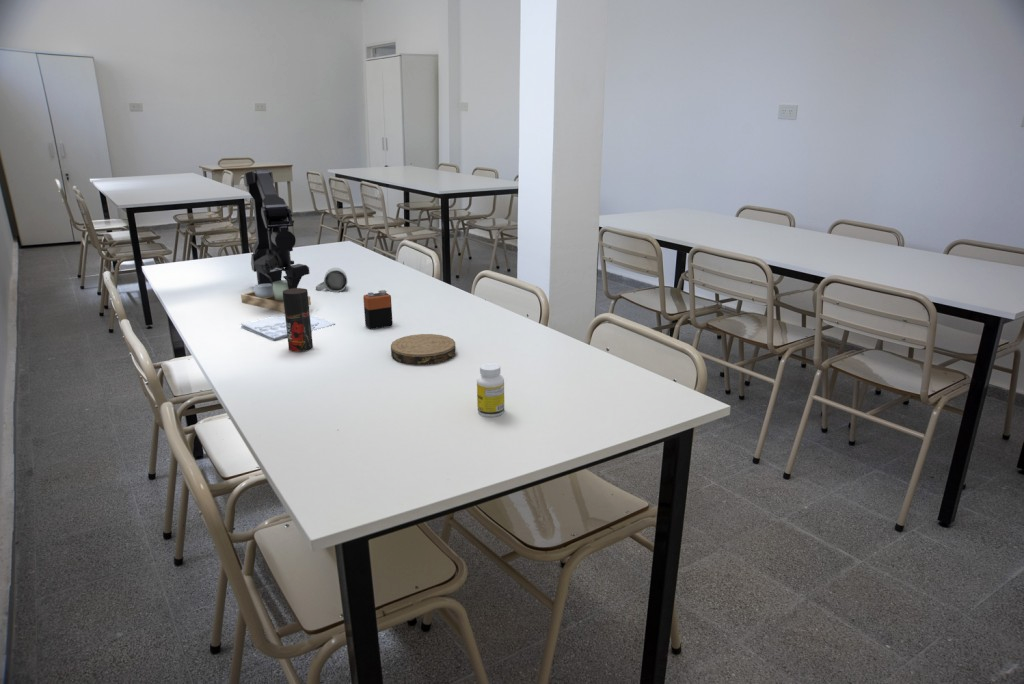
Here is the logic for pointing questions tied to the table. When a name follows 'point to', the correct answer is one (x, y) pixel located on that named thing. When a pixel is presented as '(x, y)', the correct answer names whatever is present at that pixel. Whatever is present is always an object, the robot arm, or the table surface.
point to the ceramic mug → (334, 280)
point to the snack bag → (280, 326)
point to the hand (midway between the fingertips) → (284, 295)
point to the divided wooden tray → (265, 301)
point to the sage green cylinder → (279, 289)
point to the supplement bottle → (490, 390)
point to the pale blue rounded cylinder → (263, 290)
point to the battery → (378, 310)
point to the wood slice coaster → (423, 349)
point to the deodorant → (297, 319)
